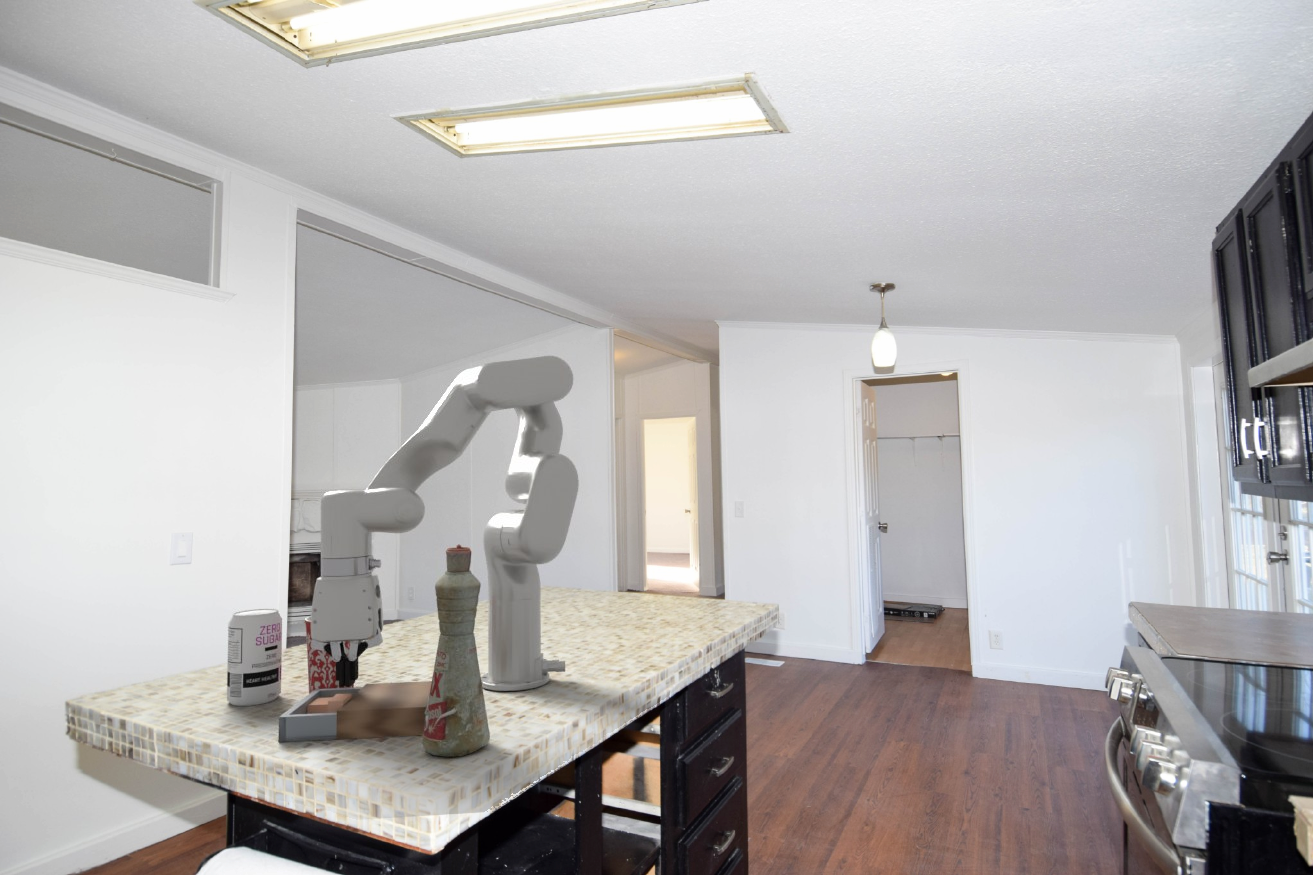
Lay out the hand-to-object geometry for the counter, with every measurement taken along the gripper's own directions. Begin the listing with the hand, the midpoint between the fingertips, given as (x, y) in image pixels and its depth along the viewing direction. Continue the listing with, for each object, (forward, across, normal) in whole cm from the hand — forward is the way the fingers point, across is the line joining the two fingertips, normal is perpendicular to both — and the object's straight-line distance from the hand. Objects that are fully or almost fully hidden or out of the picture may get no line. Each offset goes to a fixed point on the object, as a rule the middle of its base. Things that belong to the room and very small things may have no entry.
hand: (347, 684), depth 118 cm
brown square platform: (+5, -8, +3) cm, 10 cm away
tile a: (+3, -2, +5) cm, 6 cm away
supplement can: (+5, +20, -13) cm, 24 cm away
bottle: (+6, -20, +17) cm, 26 cm away
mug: (+5, +8, -17) cm, 20 cm away
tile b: (+2, +3, 0) cm, 4 cm away
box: (+5, +2, +3) cm, 6 cm away
